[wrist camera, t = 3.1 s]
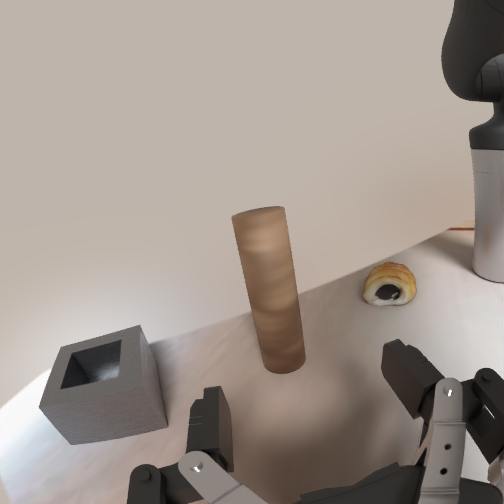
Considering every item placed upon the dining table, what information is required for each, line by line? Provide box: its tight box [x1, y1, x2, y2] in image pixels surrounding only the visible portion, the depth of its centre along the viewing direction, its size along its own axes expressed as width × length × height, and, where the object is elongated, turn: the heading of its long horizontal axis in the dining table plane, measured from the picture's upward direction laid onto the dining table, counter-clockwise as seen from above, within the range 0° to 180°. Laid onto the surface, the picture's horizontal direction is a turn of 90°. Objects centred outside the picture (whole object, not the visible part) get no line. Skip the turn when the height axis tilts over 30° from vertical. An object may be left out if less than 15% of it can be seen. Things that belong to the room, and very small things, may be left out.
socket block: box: [39, 325, 168, 445], centre depth 20 cm, size 10×10×5 cm
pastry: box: [363, 262, 417, 306], centre depth 31 cm, size 9×7×4 cm
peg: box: [232, 206, 305, 374], centre depth 22 cm, size 4×4×14 cm
